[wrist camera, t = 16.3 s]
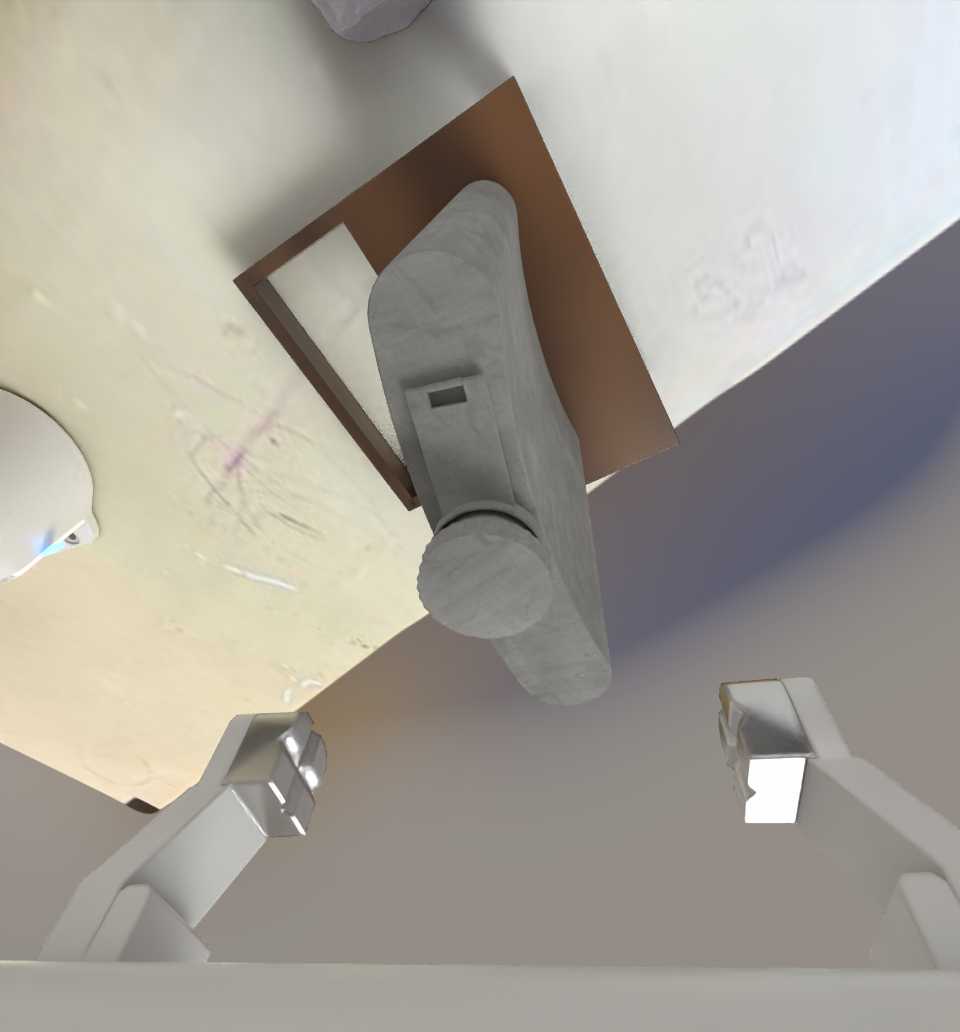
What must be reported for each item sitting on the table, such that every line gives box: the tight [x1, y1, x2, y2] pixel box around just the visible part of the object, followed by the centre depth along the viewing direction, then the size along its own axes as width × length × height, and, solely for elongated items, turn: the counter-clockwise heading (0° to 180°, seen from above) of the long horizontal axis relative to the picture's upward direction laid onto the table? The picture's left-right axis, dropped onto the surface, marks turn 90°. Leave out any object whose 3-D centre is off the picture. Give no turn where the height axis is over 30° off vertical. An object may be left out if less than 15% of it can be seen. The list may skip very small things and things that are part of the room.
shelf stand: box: [233, 76, 680, 511], centre depth 38 cm, size 22×21×11 cm
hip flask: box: [367, 180, 612, 706], centre depth 24 cm, size 16×4×20 cm, turn 19°
